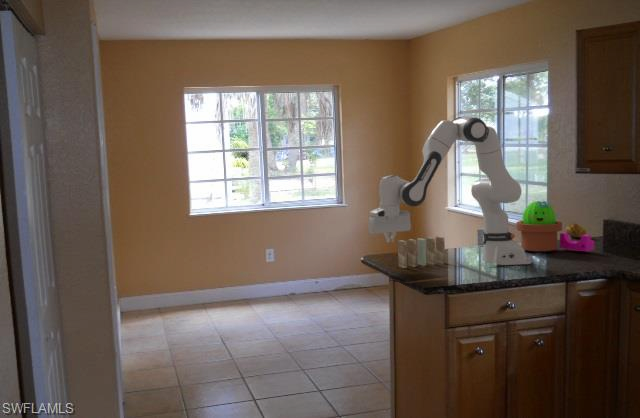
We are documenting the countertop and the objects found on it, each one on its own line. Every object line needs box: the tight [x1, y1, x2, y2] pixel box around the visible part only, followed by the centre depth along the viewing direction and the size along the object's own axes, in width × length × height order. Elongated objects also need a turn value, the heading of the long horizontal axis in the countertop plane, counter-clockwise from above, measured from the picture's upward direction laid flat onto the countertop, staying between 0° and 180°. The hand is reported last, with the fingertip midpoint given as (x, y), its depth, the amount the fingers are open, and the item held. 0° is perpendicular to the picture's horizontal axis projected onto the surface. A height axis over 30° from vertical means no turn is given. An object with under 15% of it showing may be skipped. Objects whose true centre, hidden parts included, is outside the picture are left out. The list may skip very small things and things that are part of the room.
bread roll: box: [564, 222, 587, 238], centre depth 376 cm, size 13×10×8 cm
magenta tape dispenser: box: [559, 232, 595, 252], centre depth 334 cm, size 15×6×8 cm, turn 35°
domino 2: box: [425, 236, 437, 265], centre depth 307 cm, size 2×5×12 cm, turn 22°
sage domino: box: [416, 237, 427, 267], centre depth 305 cm, size 2×5×12 cm, turn 23°
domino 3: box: [435, 235, 446, 265], centre depth 309 cm, size 2×5×12 cm, turn 22°
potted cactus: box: [516, 200, 563, 252], centre depth 336 cm, size 22×22×25 cm
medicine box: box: [477, 228, 484, 246], centre depth 355 cm, size 8×4×9 cm, turn 71°
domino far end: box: [397, 239, 408, 269], centre depth 301 cm, size 2×5×12 cm, turn 22°
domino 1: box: [407, 238, 418, 268], centre depth 303 cm, size 2×5×12 cm, turn 22°
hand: (390, 242), depth 298 cm, fingers closed
